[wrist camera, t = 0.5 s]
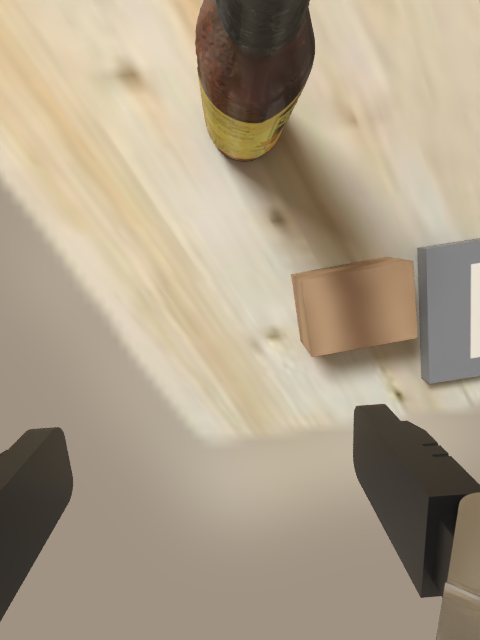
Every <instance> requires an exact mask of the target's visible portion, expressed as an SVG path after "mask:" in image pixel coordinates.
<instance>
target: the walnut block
mask: <svg viewBox="0 0 480 640" xmlns="http://www.w3.org/2000/svg"><path fill="white" fill-rule="evenodd" d="M291 277H292V284H293V291H294V298H295V305H296V312H297V319H298V326H299V333H300V340H301V342H302V343H303V345H304V346H305V348H306V349H307V350H308V352H309V353H310V355H311V356H312V357H316V356H321V355H327V354H332V353H338V352H343V351H349V350H354V349H360V348H365V347H371V346H376V345H382V344H387V343H393V342H398V341H404V340H409V339H415V338H418V335H417V318H416V301H415V285H414V268H413V261H410V260H403V259H397V258H390V257H384V258H378V259H373V260H367V261H362V262H356V263H351V264H345V265H340V266H334V267H329V268H323V269H318V270H312V271H307V272H301V273H296V274H291Z"/></svg>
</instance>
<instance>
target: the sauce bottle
mask: <svg viewBox="0 0 480 640" xmlns="http://www.w3.org/2000/svg"><path fill="white" fill-rule="evenodd" d="M309 1H310V0H204V1H203V4H202V7H201V8H200V13H199V16H198V20H197V24H196V41H195V46H196V55H197V63H198V68H197V70H198V77H199V83H200V90H201V96H202V104H203V110H204V116H205V122H206V126H207V130H208V133H209V135H210V137H211V139H212V141H213V143H214V144H215V145H216V147H217V148H218V150H219V151H220V152H221V153H222V154H223V155H225V156H227V157H229V158H232V159H234V160H238V161H252V160H254V159H257V158H259V157H260V156H262V155H263V154H265V153H267V152H268V151H269V150H270V149H271V148H272V147H273V146H274V145H275V143H276V142H277V140H278V138H279V136H280V134H281V132H282V130H283V128H284V126H285V124H286V122H287V121H288V119H289V116H290V115H291V112H292V110H293V108H294V107H295V105H296V103H297V100H298V98H299V96H300V95H301V92H302V90H303V88H304V86H305V84H306V81H307V79H308V77H309V74H310V72H311V69H312V65H313V61H314V55H315V38H314V33H313V28H312V23H311V18H310V13H309V8H308V6H309Z"/></svg>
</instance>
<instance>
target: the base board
mask: <svg viewBox="0 0 480 640" xmlns="http://www.w3.org/2000/svg"><path fill="white" fill-rule="evenodd" d="M417 250H418V283H419V315H420V347H421V378H422V379H424V380H425V381H426V382H428V383H429V384H432V383H439V382H445V381H451V380H458V379H464V378H471V377H477V376H480V238H479V239H472V240H466V241H459V242H453V243H447V244H440V245H434V246H427V247H421V248H417Z"/></svg>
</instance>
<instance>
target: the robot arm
mask: <svg viewBox="0 0 480 640" xmlns="http://www.w3.org/2000/svg"><path fill="white" fill-rule="evenodd" d="M353 440H354V441H353V461H354V467H355V472H356V475H357V478H358V480H359V482H360V484H361V486H362V488H363V490H364V492H365V494H366V495H367V497H368V499H369V501H370V503H371V505H372V507H373V508H374V511H375V512H376V514H377V516H378V518H379V520H380V522H381V523H382V526H383V527H384V529H385V531H386V533H387V535H388V537H389V539H390V540H391V543H392V544H393V546H394V548H395V550H396V552H397V554H398V556H399V557H400V559H401V561H402V563H403V565H404V567H405V569H406V571H407V573H408V574H409V576H410V578H411V580H412V582H413V584H414V586H415V588H416V589H417V591H418V593H419V595H420V597H421V598H423V597H434V596H442V598H443V599H442V605H441V612H440V618H439V624H438V630H437V636H436V640H480V485H479V484H478V483H477V482H476V481H475V480H474V479H473V478H472V477H471V476H470V475H469V474H468V473H467V472H466V471H465V470H464V469H463V468H462V467H461V466H460V465H459V464H458V463H457V462H456V461H455V460H454V459H453V458H452V457H451V456H449V455H448V453H447V452H446V451H445V450H444V449H443V448H442V447H441V446H438V443H437V442H436V441H435V440H434V439H433V438H432V437H431V436H430V435H429V434H428V433H427V432H426V431H425V430H423V429H421V428H420V427H418V426H416V425H414V424H412V423H411V422H409V421H400V420H399V419H398V418H397V416H396V415H395V414H394V413H393V412H392V411H391V410H390V409H389V408H388V407H387V406H386V405H385V404H377V405H363V406H356V408H355V410H354V438H353ZM72 489H73V477H72V471H71V466H70V461H69V456H68V451H67V446H66V441H65V436H64V433H63V431H62V430H61V428H59V427H57V428H56V427H55V428H42V429H30V430H28V431H26V432H25V433H24V434H23V435H22V436H21V437H20V438H19V439H18V440H17V442H15V444H13V445H12V446H11V447H10V448H9V450H6V451H4V452H3V453H1V454H0V621H1V620H2V618H3V616H4V614H5V612H6V611H7V609H8V607H9V606H10V603H11V602H12V600H13V599H14V597H15V595H16V593H17V592H18V590H19V588H20V586H21V585H22V583H23V581H24V579H25V578H26V576H27V574H28V572H29V571H30V569H31V567H32V566H33V564H34V562H35V560H36V558H37V557H38V555H39V553H40V552H41V550H42V548H43V546H44V545H45V543H46V541H47V539H48V538H49V536H50V534H51V532H52V531H53V529H54V527H55V525H56V524H57V522H58V520H59V519H60V517H61V515H62V513H63V512H64V510H65V508H66V506H67V505H68V503H69V501H70V498H71V494H72Z"/></svg>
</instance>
